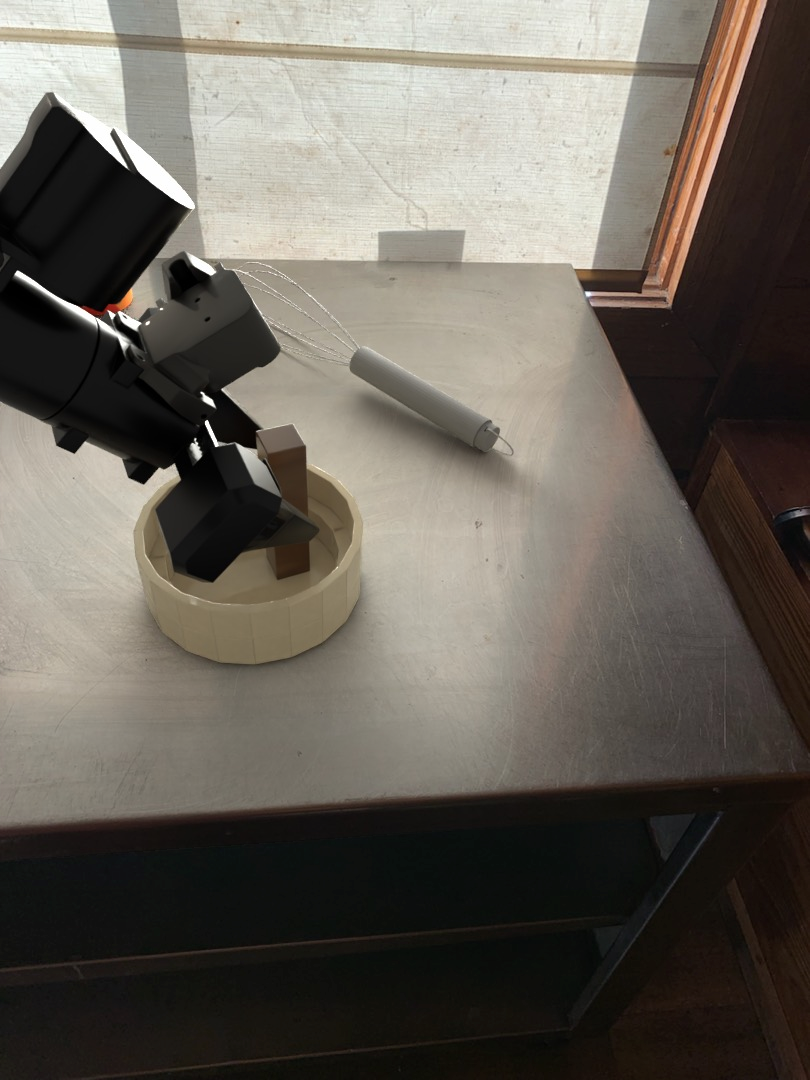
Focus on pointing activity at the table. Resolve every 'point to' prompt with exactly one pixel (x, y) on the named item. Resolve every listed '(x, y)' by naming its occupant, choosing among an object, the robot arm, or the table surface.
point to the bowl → (258, 585)
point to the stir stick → (287, 491)
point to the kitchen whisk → (402, 384)
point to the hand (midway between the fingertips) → (289, 486)
